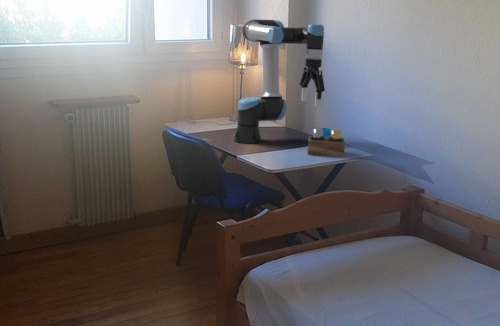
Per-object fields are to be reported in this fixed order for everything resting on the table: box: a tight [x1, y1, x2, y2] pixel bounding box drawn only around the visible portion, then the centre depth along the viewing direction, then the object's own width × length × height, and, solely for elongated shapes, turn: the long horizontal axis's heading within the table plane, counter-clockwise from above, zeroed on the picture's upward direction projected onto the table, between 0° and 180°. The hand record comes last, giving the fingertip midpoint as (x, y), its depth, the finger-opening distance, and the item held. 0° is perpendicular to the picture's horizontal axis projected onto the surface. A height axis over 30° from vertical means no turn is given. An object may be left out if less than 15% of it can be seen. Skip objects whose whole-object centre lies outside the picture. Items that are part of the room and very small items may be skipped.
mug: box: [319, 127, 333, 137], centre depth 309 cm, size 12×8×8 cm
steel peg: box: [312, 127, 323, 140], centre depth 290 cm, size 5×5×7 cm
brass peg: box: [330, 129, 342, 141], centre depth 289 cm, size 5×5×7 cm
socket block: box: [307, 135, 346, 158], centre depth 290 cm, size 12×18×7 cm, turn 84°
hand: (310, 103), depth 272 cm, fingers open, 13 cm apart
